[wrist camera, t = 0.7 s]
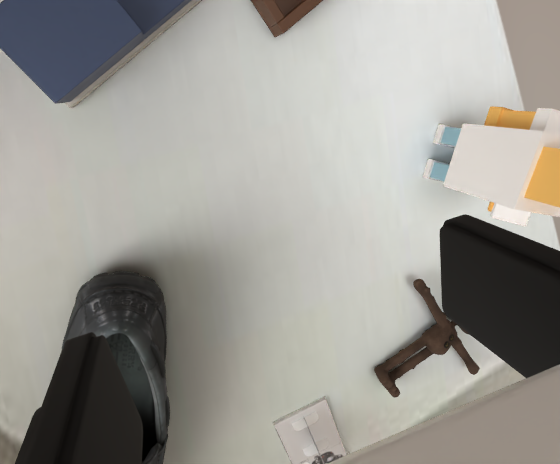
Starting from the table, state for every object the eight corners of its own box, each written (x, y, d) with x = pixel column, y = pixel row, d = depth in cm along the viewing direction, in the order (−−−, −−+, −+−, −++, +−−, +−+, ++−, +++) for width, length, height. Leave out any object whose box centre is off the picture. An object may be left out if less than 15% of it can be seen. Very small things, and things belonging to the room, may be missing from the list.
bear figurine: (350, 348, 41) (467, 265, 40) (336, 323, 45) (442, 247, 44) (421, 432, 48) (521, 365, 47) (404, 405, 52) (496, 342, 51)
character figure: (471, 94, 39) (700, 95, 22) (487, 187, 43) (689, 244, 27) (404, 127, 38) (592, 153, 21) (428, 219, 42) (599, 298, 26)
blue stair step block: (2, 35, 27) (-34, 21, 22) (159, -96, 27) (159, -139, 22) (73, 107, 29) (55, 111, 24) (216, -12, 30) (228, -34, 24)
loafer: (65, 518, 41) (38, 641, 32) (37, 262, 32) (-12, 331, 23) (168, 497, 44) (170, 604, 35) (168, 259, 35) (172, 318, 26)
